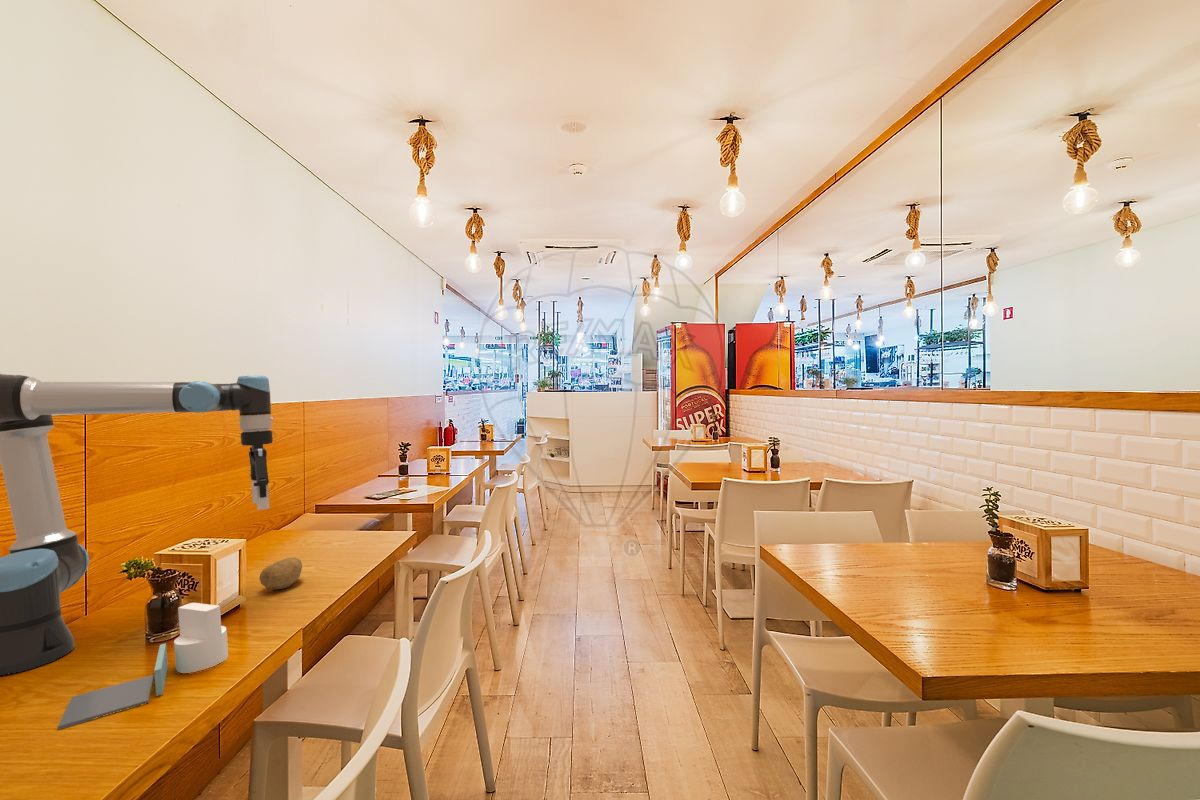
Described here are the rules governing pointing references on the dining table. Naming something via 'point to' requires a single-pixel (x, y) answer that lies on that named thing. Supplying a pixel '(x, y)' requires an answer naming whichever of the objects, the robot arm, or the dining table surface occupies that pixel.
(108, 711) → the coaster
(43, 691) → the dining table surface
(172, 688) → the dining table surface
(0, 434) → the robot arm
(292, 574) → the potato
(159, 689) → the panel
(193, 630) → the cylinder with rectangular tab
